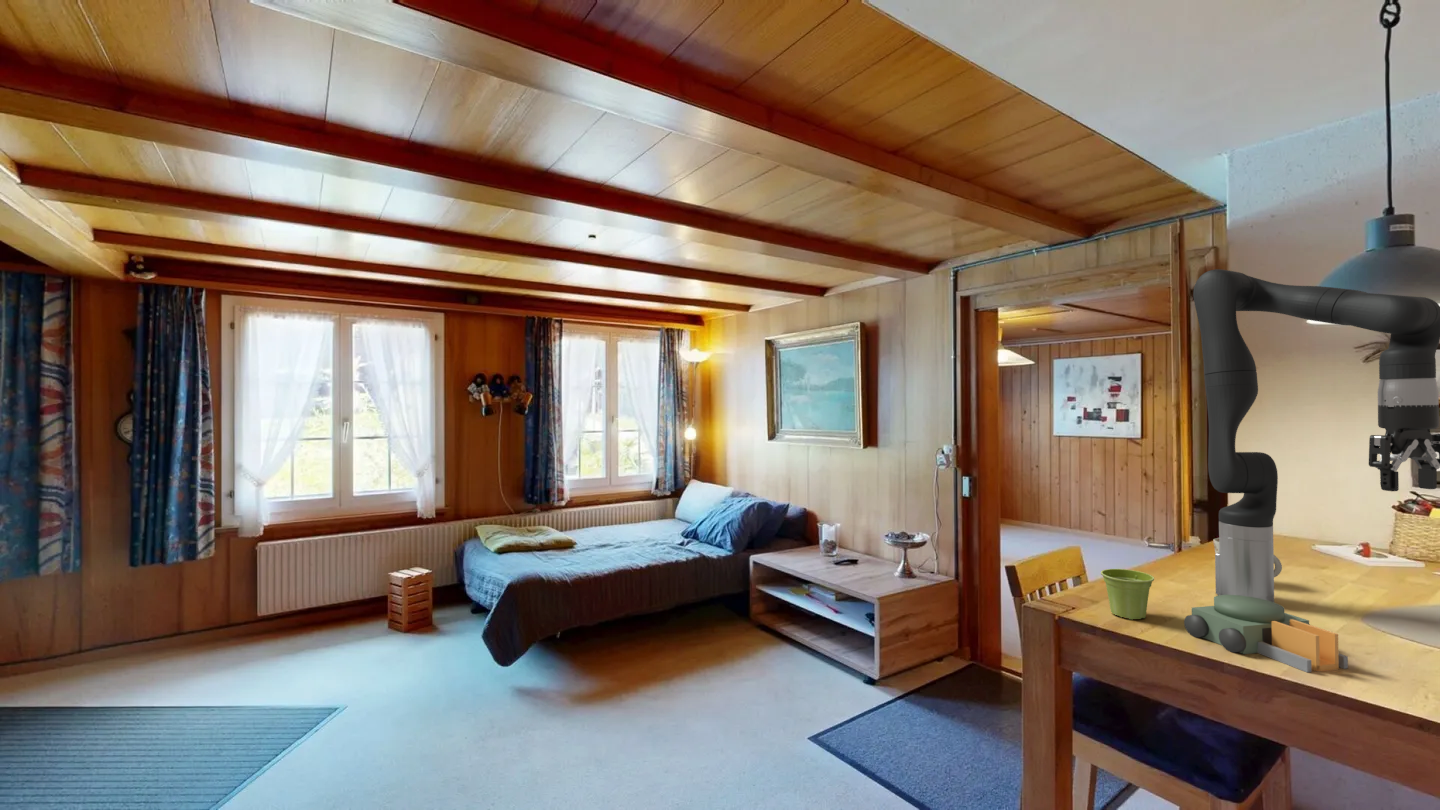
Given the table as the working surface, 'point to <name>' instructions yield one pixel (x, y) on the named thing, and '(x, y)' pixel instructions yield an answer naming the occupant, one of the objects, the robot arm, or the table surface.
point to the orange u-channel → (1308, 643)
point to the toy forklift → (1246, 628)
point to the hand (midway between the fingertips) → (1408, 489)
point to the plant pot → (1127, 592)
